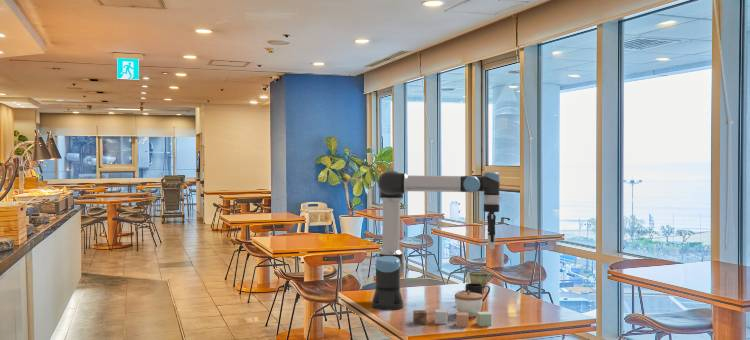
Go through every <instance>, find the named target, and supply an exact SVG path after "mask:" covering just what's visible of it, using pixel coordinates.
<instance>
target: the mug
mask: <svg viewBox="0 0 750 340" xmlns="http://www.w3.org/2000/svg"><path fill="white" fill-rule="evenodd" d="M484 287H485V288H488V289H487V293H486V294H485V296H483V298H482V304H483V303H484V301H485V300H486V298H487V297H488V295H489V293H490V292H491V291H490V290H491V287H490V286H489V285H485V286H483V285H481V284H471V283H466V284H465V292H467V291H468V290H469V291H470V292H471V293H478V294H481V295H483V292H484V291H483V288H484ZM485 288H484V289H485Z"/></svg>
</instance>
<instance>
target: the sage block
mask: <svg viewBox="0 0 750 340" xmlns="http://www.w3.org/2000/svg"><path fill="white" fill-rule="evenodd" d="M475 317H476V319H475V322H476V325H478V326H479V327H492V313H491V312H489V311H480V312H476V316H475Z"/></svg>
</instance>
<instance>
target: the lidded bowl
mask: <svg viewBox="0 0 750 340" xmlns="http://www.w3.org/2000/svg"><path fill="white" fill-rule="evenodd" d="M483 298H484V296H483V294H482V295H481V294H478V293H471V292H470V291H469V290H468V291H467V292H466V291H463V292H456V293H455V294H454V304H455V308H456V310H457V312H464V313H468V314H469V318H470V317H471V318H473V317H476V312H481V310H482V307H483V303H482V299H483Z"/></svg>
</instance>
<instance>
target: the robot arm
mask: <svg viewBox="0 0 750 340" xmlns="http://www.w3.org/2000/svg"><path fill="white" fill-rule="evenodd" d="M500 182H501V181H500V173H499V172H494V171H492V172H490V171H489V172H488V171H485V172H484V173H483V175H479V176H478V175H408V174H407V173H405V172H404V173H403V172H398V171H396V170H387V171H384V172H383V173H381V174H380V176H379V177H378V180H377V185H378V186H377V187H378V189H379V199H380V200H381V201H382V232H381V233H382V235H381V237H382V239H381V240H382V243H381V244H382V247H381V248H382V249H381V250H380V251H379V252H378V257H377V258H376V259H375V265H374V267H375V292H374V293H373V297H372V300H371V308H373V309H376V310H385V311H386V310H387V311H389V310H390V311H393V310H400V309H403V308H404V300H403V296H402V293H401V289H400V288H401V283H400V282H401V275H402V273H403V270H404V263H403V252H402V251H401V249H400V242H401V241H400V237H401V236H400V233H401V232H400V231H401V230H400V228H401V227H400V226H401V225H400V224H401V223H400V222H401V218H400V217H401V216H400V215H401V201H402V200H403V198H404V194H406V193H408V192H424V193H425V192H427V193H429V192H430V193H431V192H435V193H436V192H437V193H439V192H440V193H441V192H442V193H445V192H446V193H447V192H448V193H471V194H473V193H476V192H483V203H484V204H483V212H484V213H487V215H486V220H487V222H486V223H487V229H486V230H487V247H488V249H489V250H495V249H496V248H495V247H496V218H497V217H496V214H495V213H499V212H500V204H499V203H500V200H501V199H502V198H501V197H500V184H501V183H500Z"/></svg>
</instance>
